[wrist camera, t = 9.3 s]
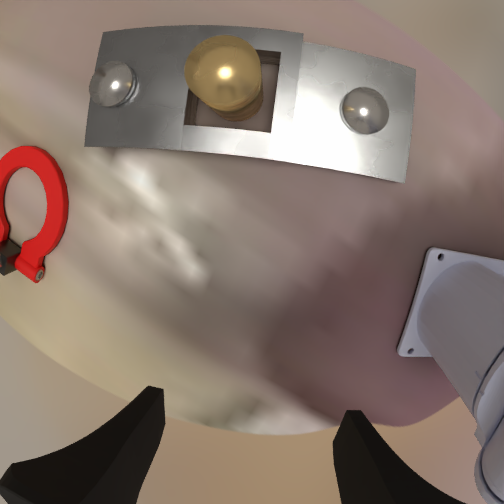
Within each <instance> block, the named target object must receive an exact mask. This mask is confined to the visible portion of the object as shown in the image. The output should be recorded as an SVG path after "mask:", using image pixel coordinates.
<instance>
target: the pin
mask: <svg viewBox="0 0 504 504" xmlns="http://www.w3.org/2000/svg"><path fill="white" fill-rule="evenodd" d="M184 75H185V80H186V83H187V85H188V87H189V88H190V90H191V91H192V92H193V93H194V94H195V95H196V96H197V97H198V98H200V99H201V100H202V101H203V102H204V103H205V104H207V105H208V106H209V107H210V108H211V109H212V110H213V111H215V112H216V113H217V114H218V115H219V116H220V117H222V118H224V119H226V120H229V121H244V120H247V119H249V118H251V117H252V116H254V115H255V114H256V113H257V112H258V110H259V109H260V107H261V105H262V102H263V86H262V75H261V65H260V59H259V56H258V54H257V52H256V50H255V49H254V48H253V46H251V45H250V44H249V43H248V42H247V41H245V40H243V39H241V38H239V37H235V36H230V35H220V36H214V37H211V38H208V39H206V40H204V41H202V42H201V43H199V44H198V45H197V46H196V47H195V48H194V49H193V50H192V51H191V53H190V54H189V56H188V58H187V60H186V63H185V69H184Z"/></svg>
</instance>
